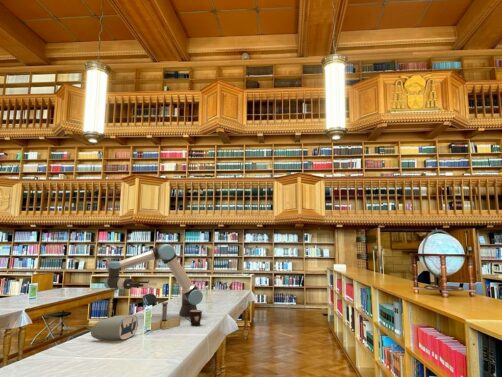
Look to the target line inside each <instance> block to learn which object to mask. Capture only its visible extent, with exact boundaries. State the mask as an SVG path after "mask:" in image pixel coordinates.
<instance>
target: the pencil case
mask: <svg viewBox="0 0 502 377" xmlns="http://www.w3.org/2000/svg"><path fill="white" fill-rule="evenodd" d="M138 324H139V320H138V317H137V315H135V314H131V315H130V314H127V315H125V314H121V315H119V314H118V315H114V316H111V317H107V318H104V319H102V320H99V321H97V322H95V324H94V325H93V326H92V327H91V330H90V335H91V338H93V339H96V340H100V341H109V340H127V339H129V338H131V337H132V336H134V335H136V333H137V331H138V327H139V326H138Z"/></svg>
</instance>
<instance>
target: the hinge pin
mask: <svg viewBox="0 0 502 377" xmlns="http://www.w3.org/2000/svg"><path fill="white" fill-rule="evenodd" d="M168 304H169V302H168V301H162V302H161V305H162V309H161V310H162V311H161V320H162V321H166V320H167V313H168V312H167V311H168ZM162 327H165V326H162Z"/></svg>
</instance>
